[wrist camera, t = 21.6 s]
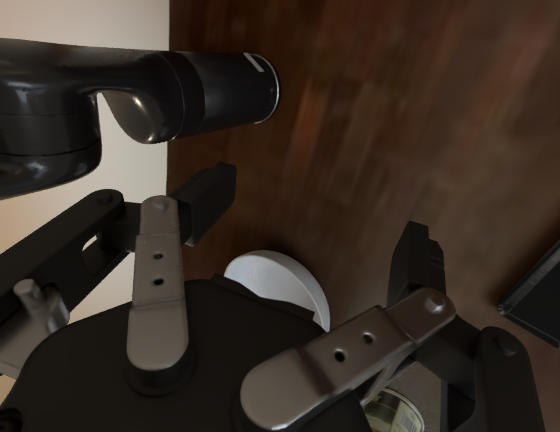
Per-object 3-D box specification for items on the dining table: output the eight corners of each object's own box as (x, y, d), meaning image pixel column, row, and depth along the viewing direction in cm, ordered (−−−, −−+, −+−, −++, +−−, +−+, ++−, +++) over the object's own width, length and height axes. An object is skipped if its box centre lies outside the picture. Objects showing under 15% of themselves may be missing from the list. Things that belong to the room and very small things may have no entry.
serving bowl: (230, 263, 65) (205, 280, 60) (293, 217, 52) (267, 233, 46) (288, 348, 64) (268, 373, 59) (368, 324, 50) (351, 353, 45)
